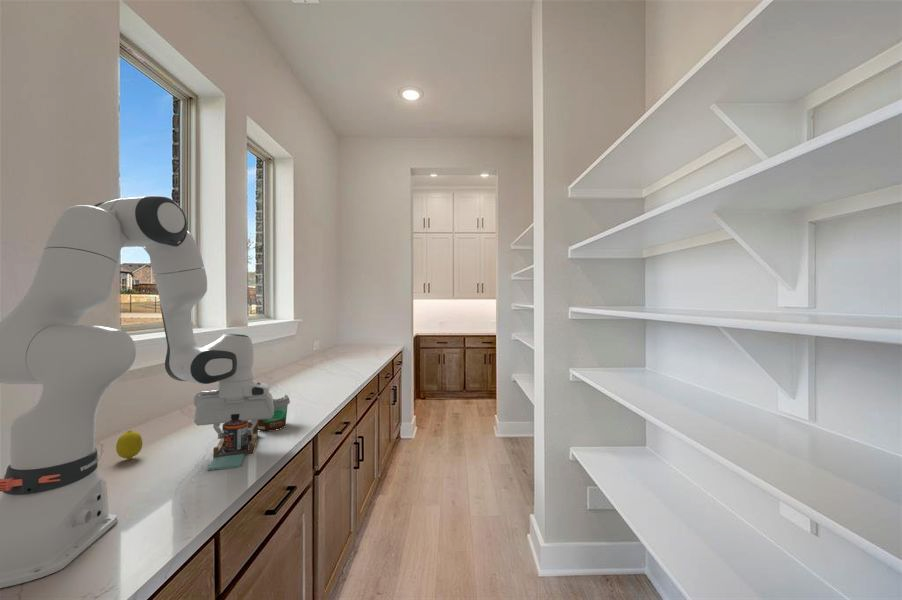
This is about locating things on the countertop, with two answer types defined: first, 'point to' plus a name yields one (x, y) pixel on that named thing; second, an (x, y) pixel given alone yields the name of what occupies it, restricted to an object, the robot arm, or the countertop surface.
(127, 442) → the lemon
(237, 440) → the supplement bottle
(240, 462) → the coaster
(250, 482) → the countertop surface
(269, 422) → the food container
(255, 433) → the rack
